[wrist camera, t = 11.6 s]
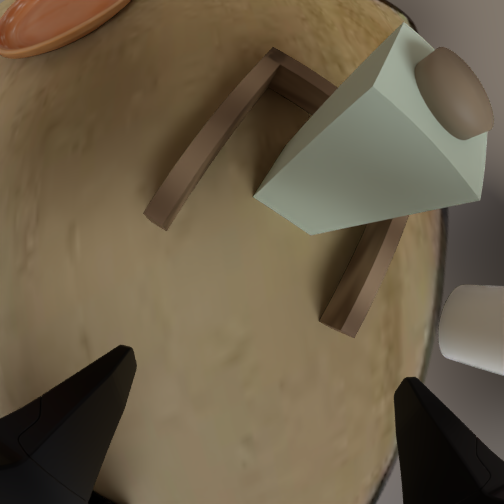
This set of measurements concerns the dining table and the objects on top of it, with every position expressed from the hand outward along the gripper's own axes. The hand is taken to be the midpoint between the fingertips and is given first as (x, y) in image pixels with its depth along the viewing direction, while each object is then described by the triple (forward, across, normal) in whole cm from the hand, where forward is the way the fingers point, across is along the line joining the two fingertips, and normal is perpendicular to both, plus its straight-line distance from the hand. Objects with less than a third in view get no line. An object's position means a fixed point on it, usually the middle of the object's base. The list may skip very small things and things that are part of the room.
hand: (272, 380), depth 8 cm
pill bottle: (+14, -20, +7) cm, 25 cm away
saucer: (+16, +22, -20) cm, 34 cm away
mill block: (+13, -1, -3) cm, 14 cm away
